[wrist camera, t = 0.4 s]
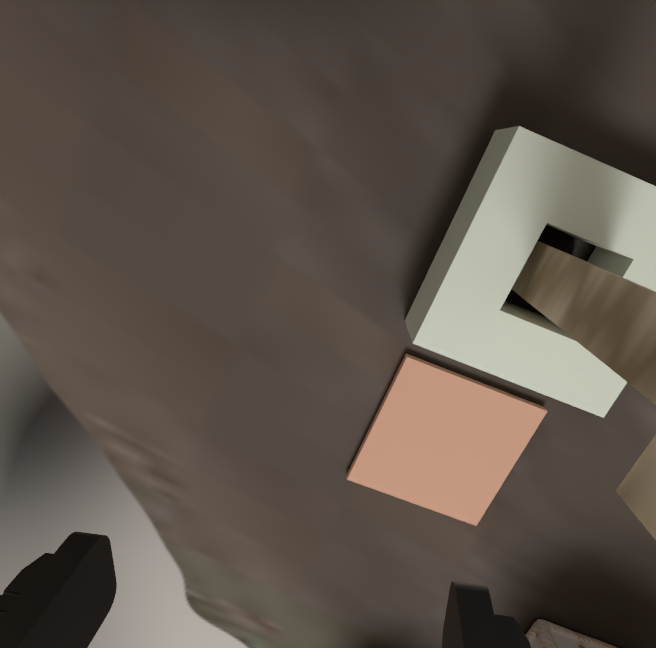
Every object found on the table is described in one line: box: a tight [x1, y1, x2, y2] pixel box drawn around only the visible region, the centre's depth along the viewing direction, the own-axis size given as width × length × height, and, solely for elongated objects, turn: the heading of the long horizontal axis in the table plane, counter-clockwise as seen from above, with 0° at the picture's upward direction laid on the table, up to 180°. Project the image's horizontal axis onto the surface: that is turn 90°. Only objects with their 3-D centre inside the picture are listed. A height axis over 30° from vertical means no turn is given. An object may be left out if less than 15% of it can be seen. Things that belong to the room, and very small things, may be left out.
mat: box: [347, 354, 547, 526], centre depth 33 cm, size 10×10×1 cm
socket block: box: [405, 126, 656, 418], centre depth 28 cm, size 12×12×4 cm
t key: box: [512, 241, 656, 540], centre depth 21 cm, size 9×3×18 cm, turn 158°
